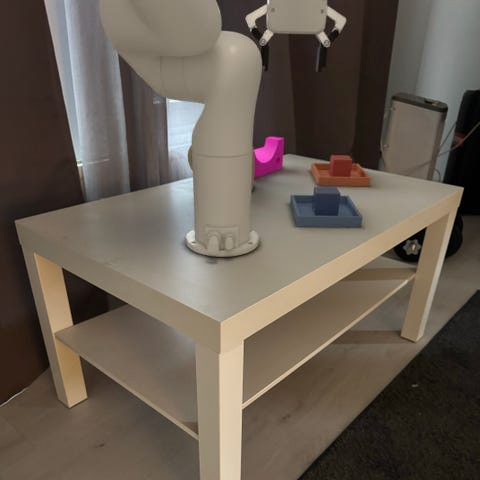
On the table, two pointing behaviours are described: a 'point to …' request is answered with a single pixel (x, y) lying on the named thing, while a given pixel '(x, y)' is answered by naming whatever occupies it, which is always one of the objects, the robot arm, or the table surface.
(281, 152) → the toy block
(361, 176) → the red tray
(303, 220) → the blue tray
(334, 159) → the red block
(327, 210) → the blue block
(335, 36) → the robot arm
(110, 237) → the table surface
